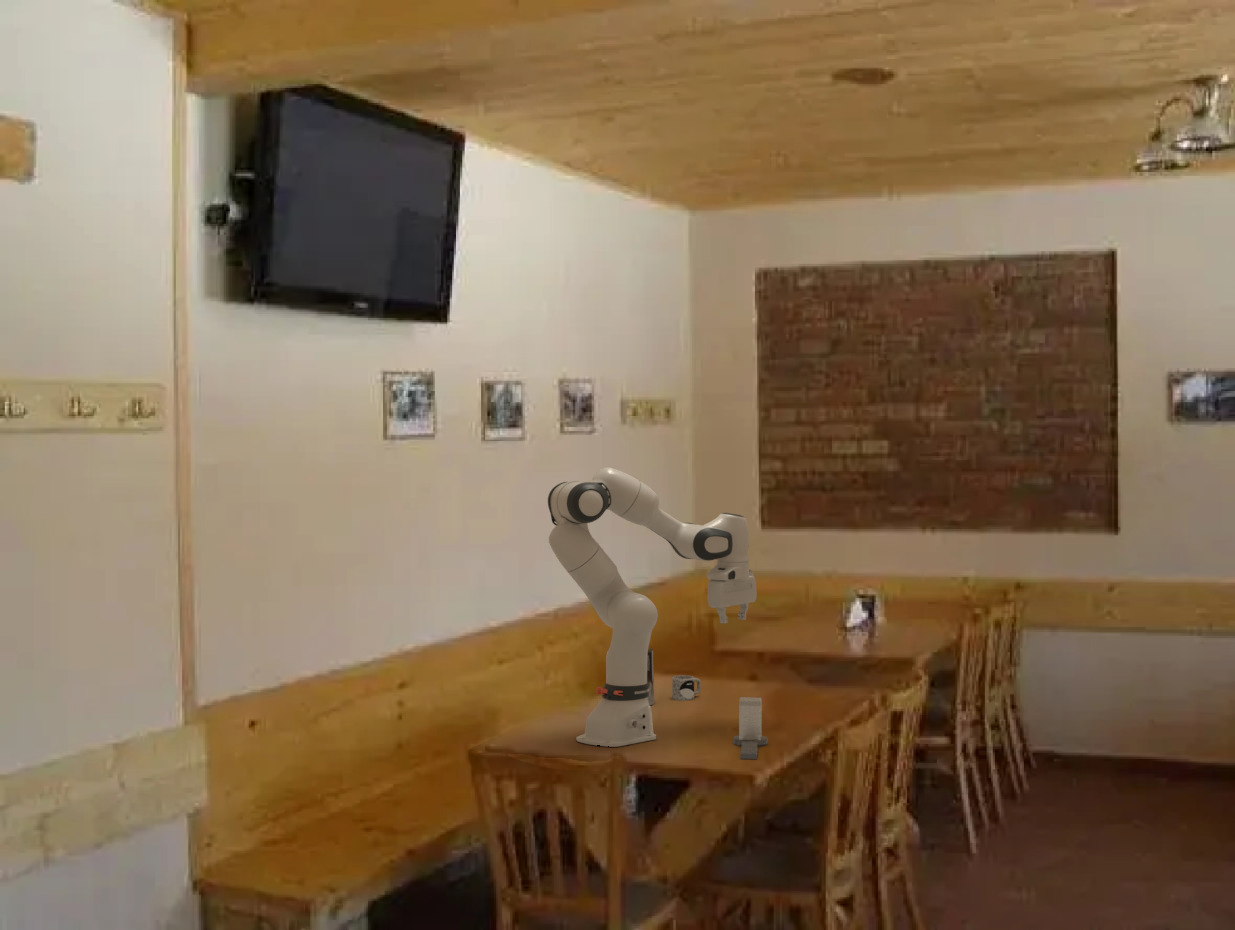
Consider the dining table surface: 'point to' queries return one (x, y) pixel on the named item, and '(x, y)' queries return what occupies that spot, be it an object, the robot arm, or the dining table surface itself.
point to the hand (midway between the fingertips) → (732, 621)
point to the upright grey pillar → (749, 718)
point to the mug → (684, 687)
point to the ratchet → (749, 746)
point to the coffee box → (650, 676)
